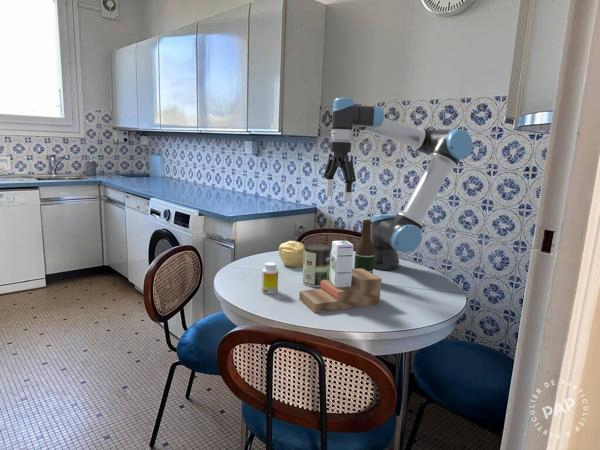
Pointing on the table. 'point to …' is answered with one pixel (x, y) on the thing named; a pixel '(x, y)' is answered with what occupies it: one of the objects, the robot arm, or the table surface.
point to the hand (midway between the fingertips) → (337, 198)
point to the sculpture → (292, 253)
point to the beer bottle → (365, 249)
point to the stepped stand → (344, 293)
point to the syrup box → (341, 263)
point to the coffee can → (316, 264)
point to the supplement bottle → (270, 278)
